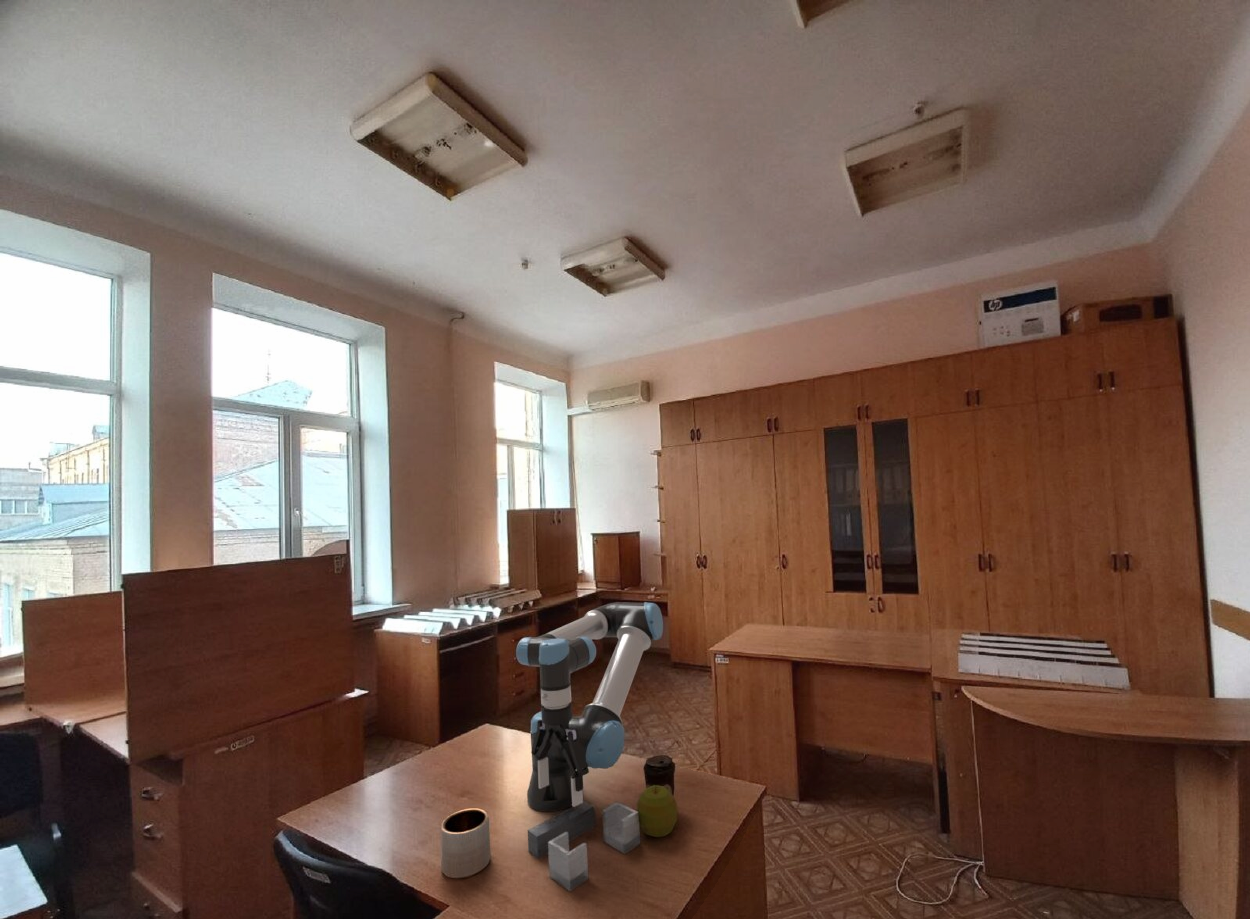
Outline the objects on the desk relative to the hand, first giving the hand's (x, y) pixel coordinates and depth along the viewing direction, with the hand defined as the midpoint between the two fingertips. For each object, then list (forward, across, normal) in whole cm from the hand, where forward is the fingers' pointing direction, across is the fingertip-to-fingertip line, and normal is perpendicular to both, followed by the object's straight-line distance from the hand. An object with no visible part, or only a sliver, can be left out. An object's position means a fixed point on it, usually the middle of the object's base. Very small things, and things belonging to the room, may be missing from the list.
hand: (560, 795), depth 130 cm
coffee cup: (+10, +11, +24) cm, 28 cm away
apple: (+10, +16, +17) cm, 26 cm away
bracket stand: (+10, +12, 0) cm, 16 cm away
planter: (+10, -10, -20) cm, 25 cm away
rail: (+10, 0, 0) cm, 10 cm away
